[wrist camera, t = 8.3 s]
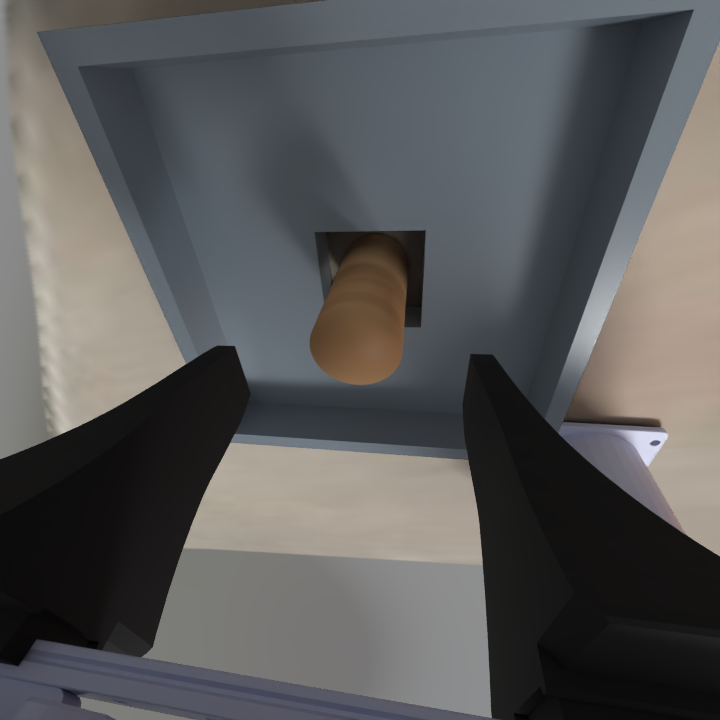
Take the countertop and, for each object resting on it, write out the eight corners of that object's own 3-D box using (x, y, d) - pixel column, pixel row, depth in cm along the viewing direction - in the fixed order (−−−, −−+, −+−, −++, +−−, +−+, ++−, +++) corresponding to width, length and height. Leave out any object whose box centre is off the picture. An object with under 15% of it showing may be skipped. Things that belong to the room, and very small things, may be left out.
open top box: (525, 402, 22) (544, 465, 18) (250, 389, 24) (221, 441, 21) (650, -8, 11) (756, -47, 8) (136, 44, 14) (37, 32, 10)
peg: (405, 297, 19) (398, 389, 13) (344, 293, 19) (312, 380, 13) (411, 235, 17) (406, 312, 11) (343, 231, 17) (306, 304, 11)
